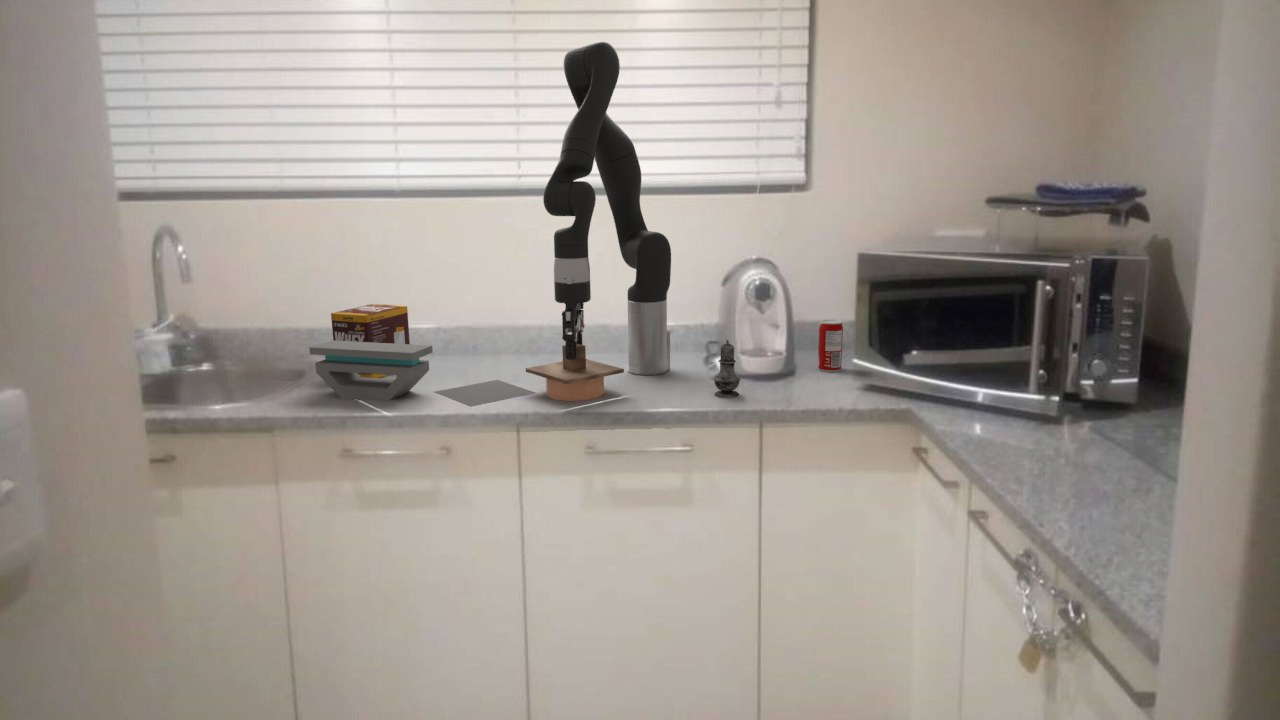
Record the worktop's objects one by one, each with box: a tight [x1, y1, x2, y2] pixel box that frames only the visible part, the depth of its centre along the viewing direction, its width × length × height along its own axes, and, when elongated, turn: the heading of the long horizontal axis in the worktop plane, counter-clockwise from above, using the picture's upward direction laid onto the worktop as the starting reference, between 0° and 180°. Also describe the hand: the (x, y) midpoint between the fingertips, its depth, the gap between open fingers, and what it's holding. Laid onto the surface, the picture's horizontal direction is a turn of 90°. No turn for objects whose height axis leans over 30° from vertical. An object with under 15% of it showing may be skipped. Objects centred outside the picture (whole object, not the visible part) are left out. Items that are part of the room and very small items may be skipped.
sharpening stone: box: [308, 339, 433, 401], centre depth 184 cm, size 25×8×11 cm, turn 74°
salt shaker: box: [712, 339, 742, 399], centre depth 182 cm, size 6×6×12 cm
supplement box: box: [330, 303, 411, 379], centre depth 205 cm, size 10×15×16 cm
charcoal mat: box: [434, 379, 537, 407], centre depth 185 cm, size 16×16×1 cm
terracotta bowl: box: [545, 377, 605, 402], centre depth 183 cm, size 12×12×5 cm
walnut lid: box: [525, 344, 625, 384], centre depth 182 cm, size 15×15×6 cm
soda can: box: [817, 319, 844, 373], centre depth 203 cm, size 6×6×12 cm
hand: (574, 354), depth 182 cm, fingers open, 8 cm apart
